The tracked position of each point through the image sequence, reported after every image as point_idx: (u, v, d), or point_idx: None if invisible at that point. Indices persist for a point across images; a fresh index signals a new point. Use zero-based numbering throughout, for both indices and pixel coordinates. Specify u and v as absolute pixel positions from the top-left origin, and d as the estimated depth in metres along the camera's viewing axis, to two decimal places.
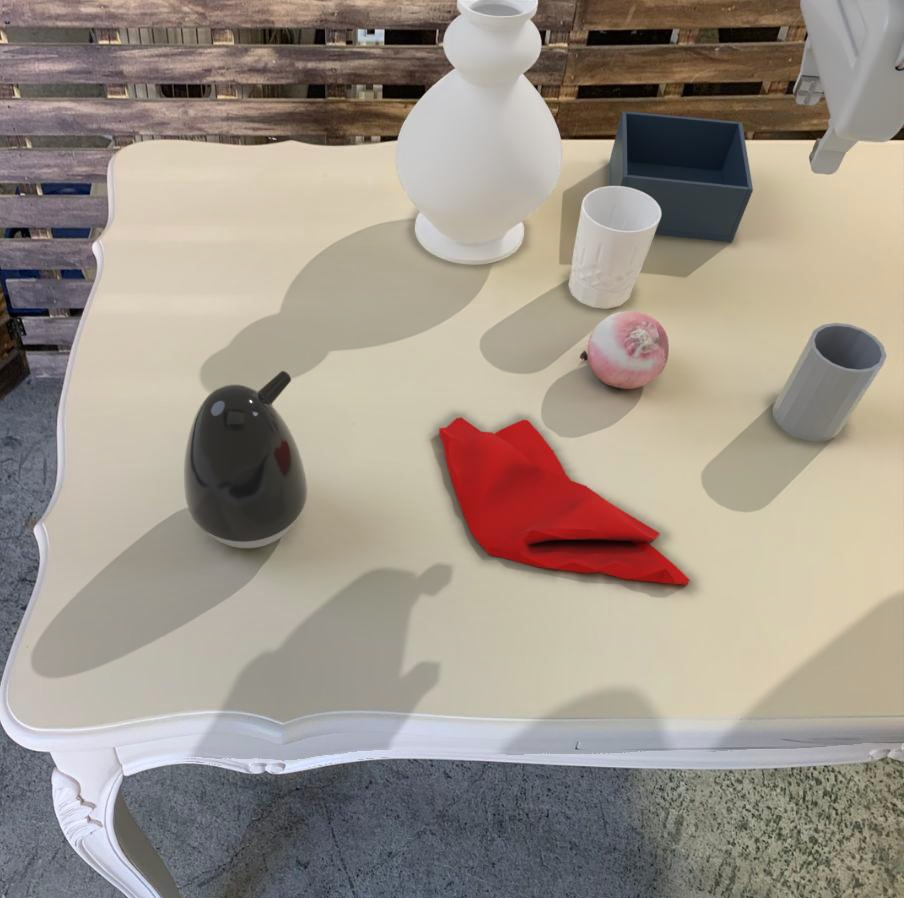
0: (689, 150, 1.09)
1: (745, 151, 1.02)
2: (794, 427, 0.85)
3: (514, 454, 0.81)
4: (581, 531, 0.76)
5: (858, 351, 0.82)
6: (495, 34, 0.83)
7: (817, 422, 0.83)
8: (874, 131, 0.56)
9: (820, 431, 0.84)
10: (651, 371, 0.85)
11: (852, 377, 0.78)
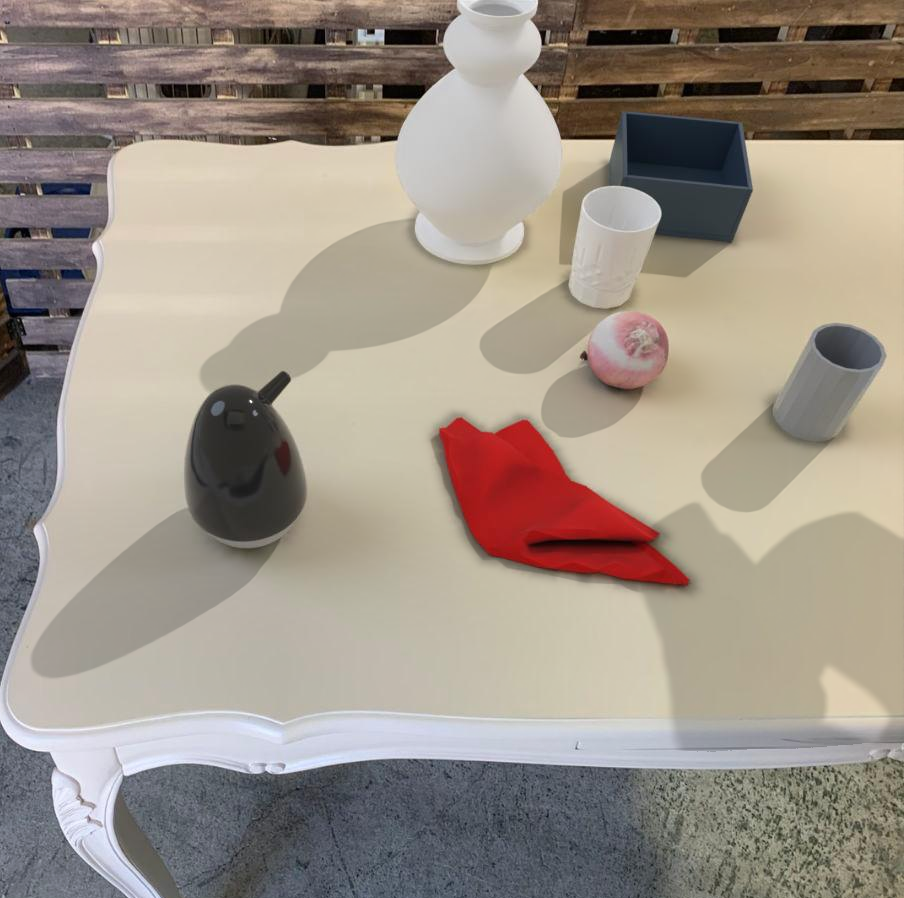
0: (689, 150, 1.09)
1: (745, 151, 1.02)
2: (794, 427, 0.85)
3: (514, 454, 0.81)
4: (581, 531, 0.76)
5: (858, 351, 0.82)
6: (495, 34, 0.83)
7: (817, 422, 0.83)
8: None
9: (820, 431, 0.84)
10: (651, 371, 0.85)
11: (852, 377, 0.78)
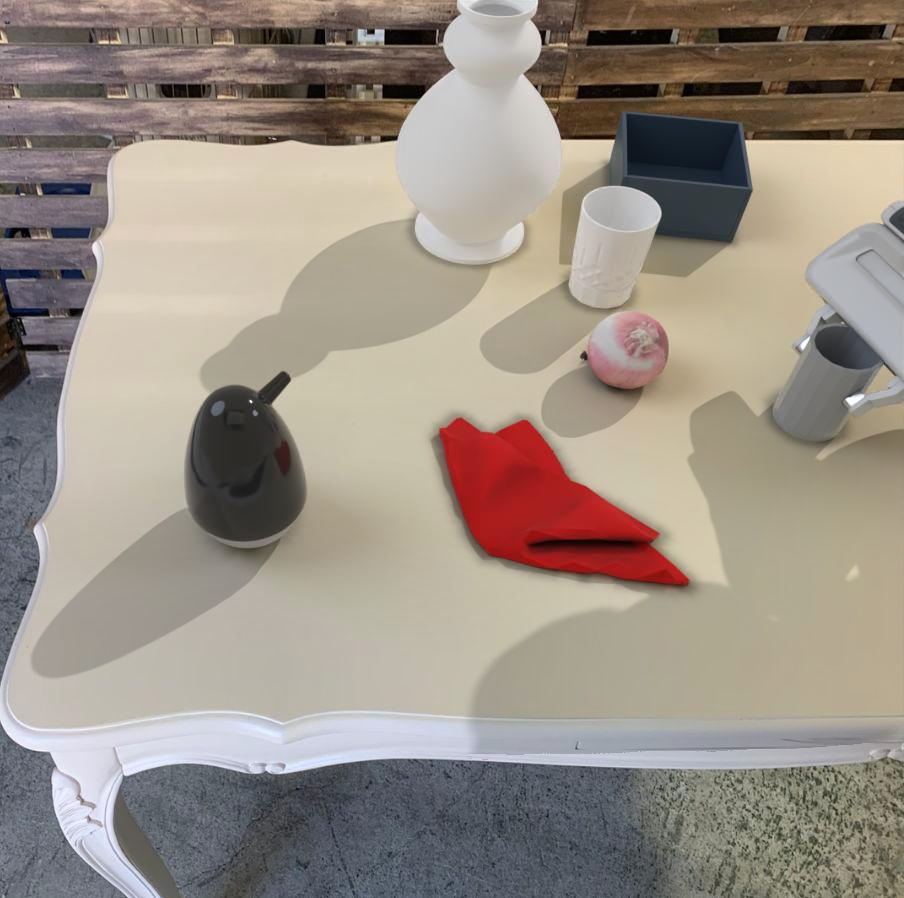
0: (689, 150, 1.09)
1: (745, 151, 1.02)
2: (794, 427, 0.85)
3: (514, 454, 0.81)
4: (581, 531, 0.76)
5: (858, 351, 0.82)
6: (495, 34, 0.83)
7: (817, 422, 0.83)
8: None
9: (820, 431, 0.84)
10: (651, 371, 0.85)
11: (852, 377, 0.78)
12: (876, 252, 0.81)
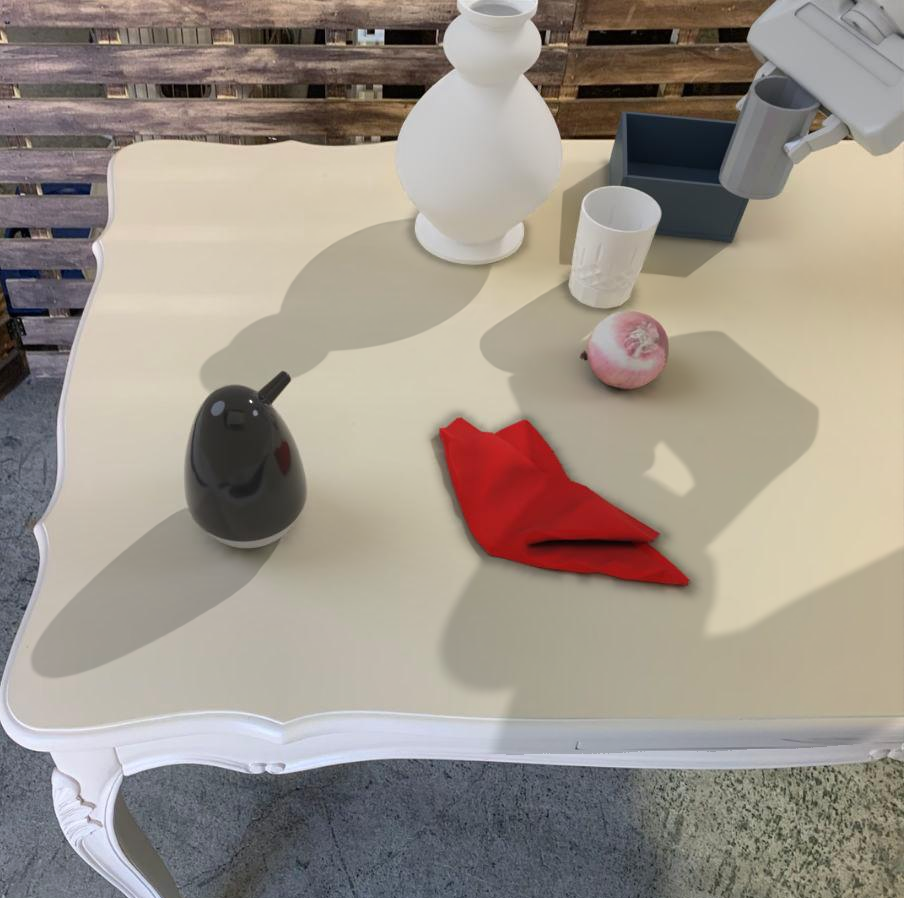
0: (689, 150, 1.09)
1: None
2: (738, 184, 0.88)
3: (514, 454, 0.81)
4: (581, 531, 0.76)
5: (797, 104, 0.85)
6: (495, 34, 0.83)
7: (759, 175, 0.86)
8: (887, 144, 0.78)
9: (763, 186, 0.87)
10: (651, 371, 0.85)
11: (790, 118, 0.82)
12: (813, 5, 0.84)
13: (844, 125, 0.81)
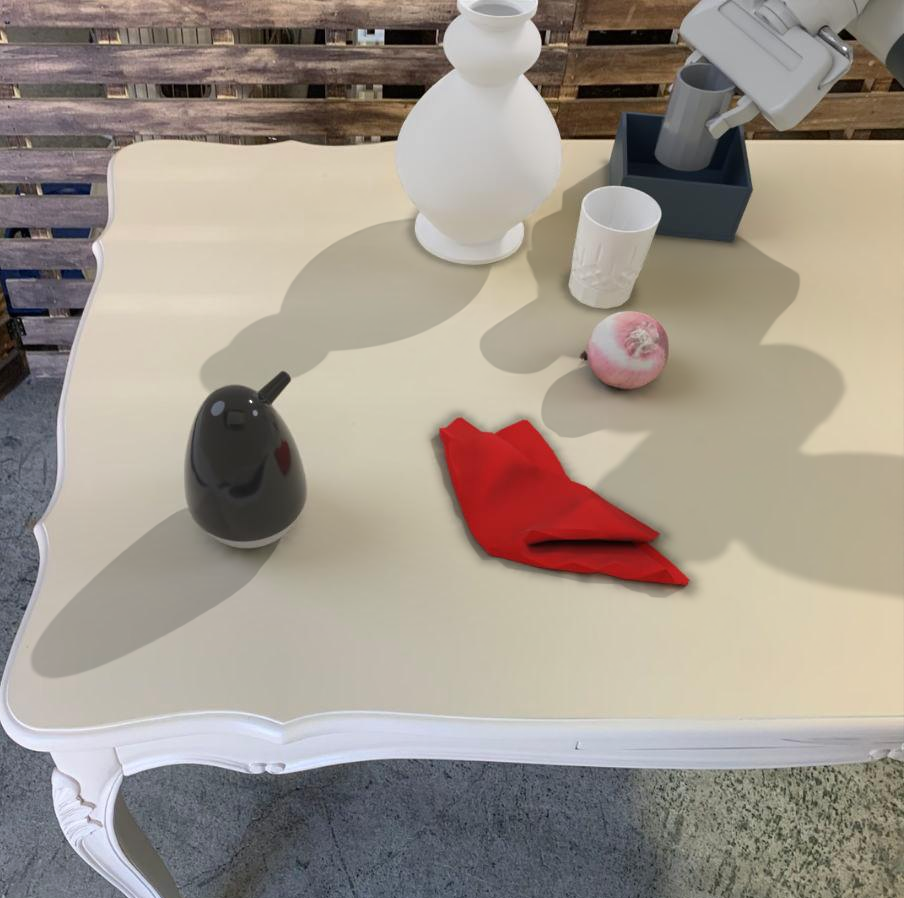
0: None
1: (745, 151, 1.02)
2: (669, 158, 1.01)
3: (514, 454, 0.81)
4: (581, 531, 0.76)
5: (719, 87, 0.99)
6: (495, 34, 0.83)
7: (686, 149, 0.99)
8: (788, 120, 0.91)
9: (690, 159, 1.00)
10: (651, 371, 0.85)
11: (708, 98, 0.95)
12: (733, 1, 0.97)
13: (755, 104, 0.94)
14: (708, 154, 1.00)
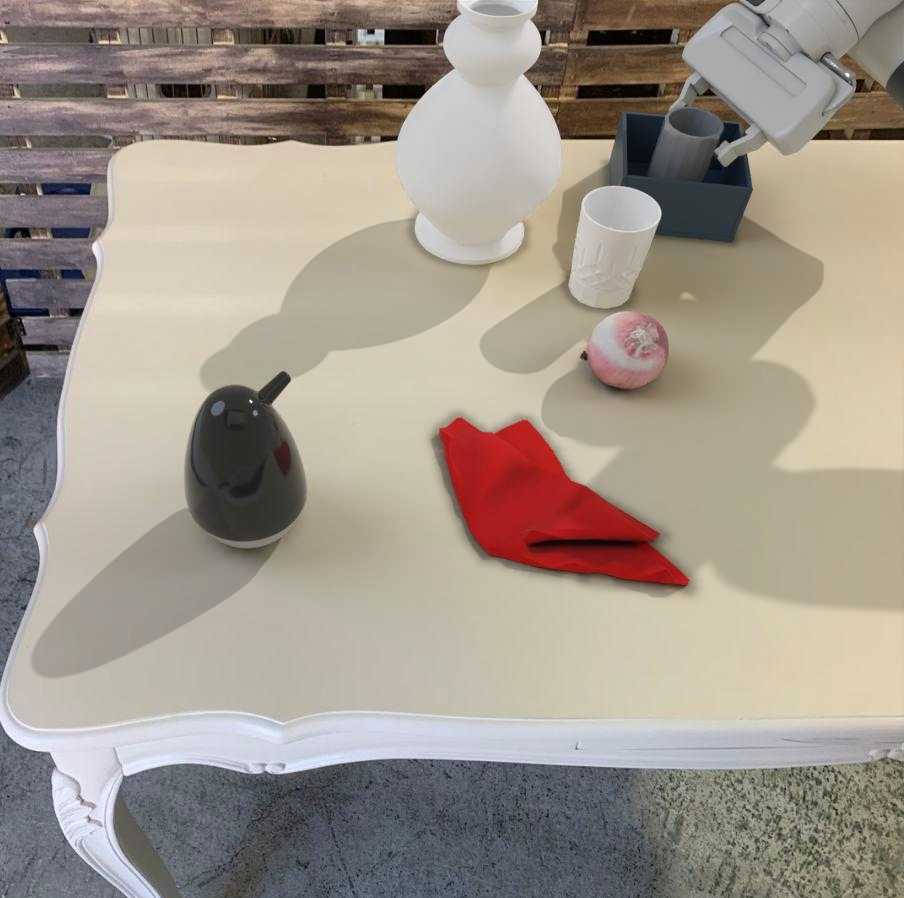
0: None
1: None
2: None
3: (514, 454, 0.81)
4: (581, 531, 0.76)
5: (706, 131, 1.02)
6: (495, 34, 0.83)
7: None
8: (793, 145, 0.93)
9: None
10: (651, 371, 0.85)
11: (696, 143, 0.98)
12: (735, 27, 0.99)
13: (763, 133, 0.95)
14: None
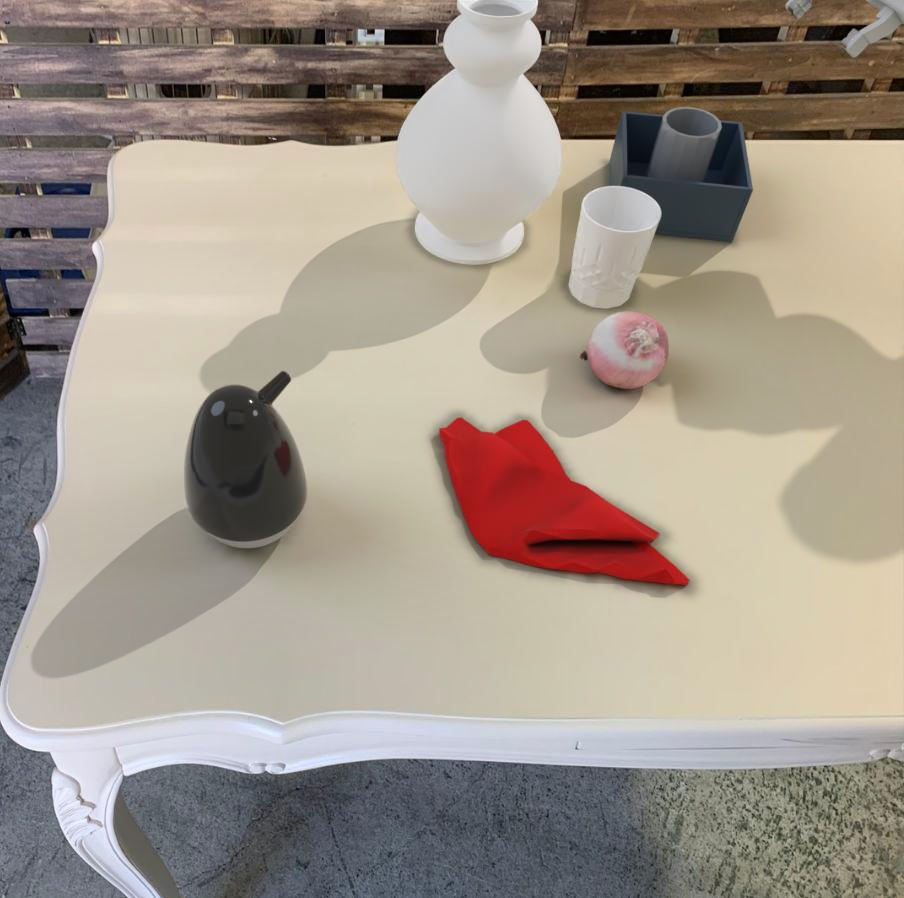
0: None
1: (745, 151, 1.02)
2: None
3: (514, 454, 0.81)
4: (581, 531, 0.76)
5: (704, 130, 1.02)
6: (495, 34, 0.83)
7: None
8: None
9: None
10: (651, 371, 0.85)
11: (693, 143, 0.99)
12: None
13: (897, 14, 0.88)
14: None
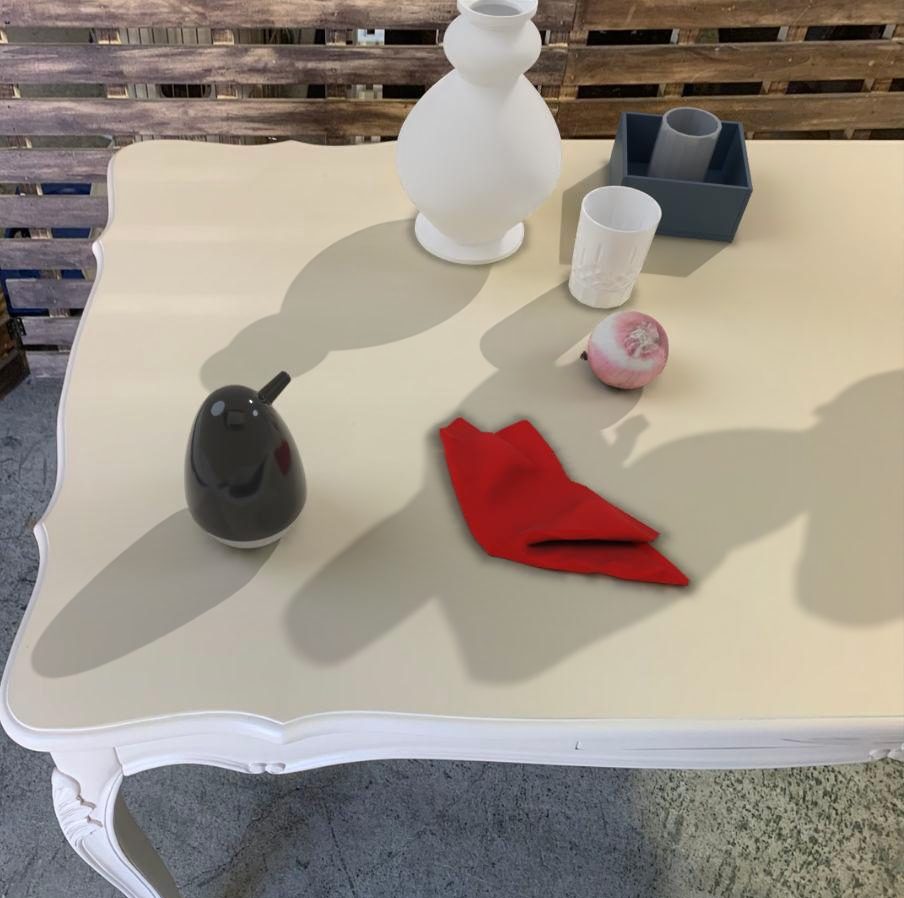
0: None
1: (745, 151, 1.02)
2: None
3: (514, 454, 0.81)
4: (581, 531, 0.76)
5: (704, 130, 1.02)
6: (495, 34, 0.83)
7: None
8: None
9: None
10: (651, 371, 0.85)
11: (693, 143, 0.99)
12: None
13: None
14: None
